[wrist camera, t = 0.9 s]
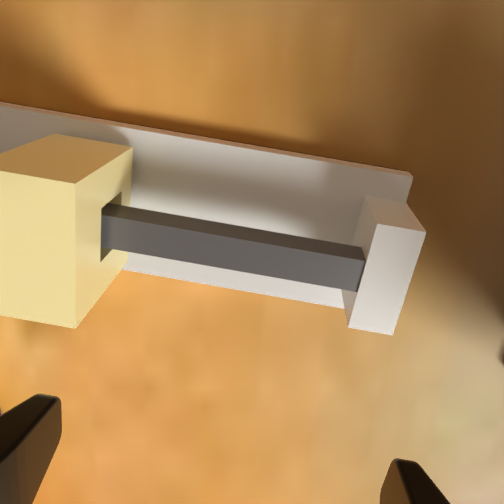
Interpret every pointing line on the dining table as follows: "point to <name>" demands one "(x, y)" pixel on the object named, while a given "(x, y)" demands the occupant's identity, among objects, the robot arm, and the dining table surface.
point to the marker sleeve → (59, 226)
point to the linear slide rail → (252, 216)
